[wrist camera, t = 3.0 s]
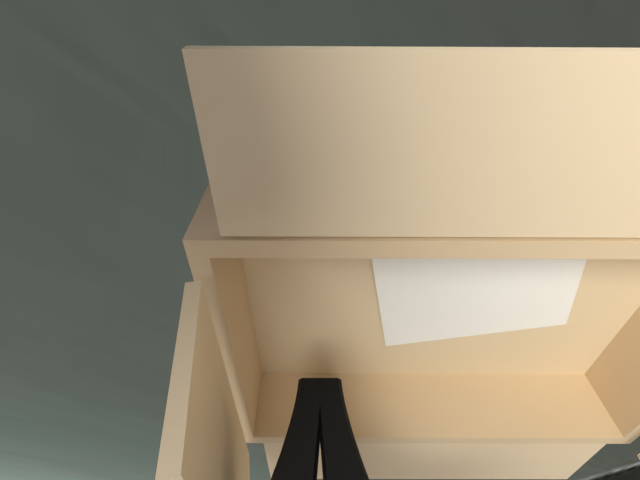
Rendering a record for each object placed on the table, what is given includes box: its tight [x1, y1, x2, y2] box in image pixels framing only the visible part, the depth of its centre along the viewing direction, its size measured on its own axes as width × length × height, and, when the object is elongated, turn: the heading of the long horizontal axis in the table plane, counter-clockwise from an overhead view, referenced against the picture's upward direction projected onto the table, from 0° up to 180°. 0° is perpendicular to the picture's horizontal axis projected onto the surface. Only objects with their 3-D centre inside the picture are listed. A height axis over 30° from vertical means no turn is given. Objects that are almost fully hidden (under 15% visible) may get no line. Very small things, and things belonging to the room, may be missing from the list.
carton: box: [182, 46, 640, 479], centre depth 15 cm, size 21×18×4 cm
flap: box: [155, 281, 250, 480], centre depth 11 cm, size 11×4×1 cm
